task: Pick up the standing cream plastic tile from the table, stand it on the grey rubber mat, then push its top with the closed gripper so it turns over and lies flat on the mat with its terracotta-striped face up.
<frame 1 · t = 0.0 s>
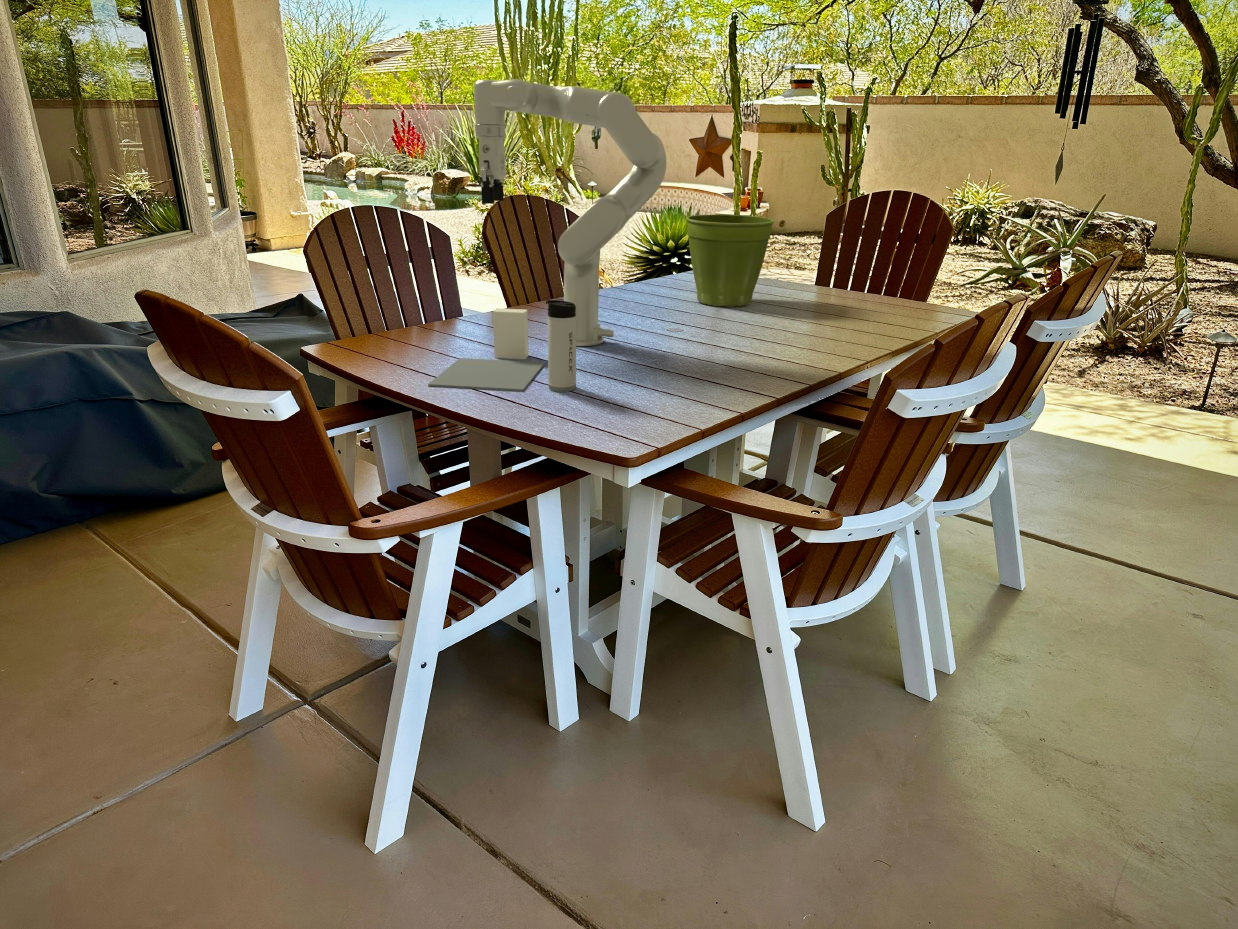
hand: (493, 201, 216), 37 cm above the table, tool pointing down, fingers open, 9 cm apart
travel mug: (561, 389, 185), on the table
plant pot: (724, 303, 286), on the table
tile: (511, 356, 210), on the table
mat: (489, 374, 194), on the table
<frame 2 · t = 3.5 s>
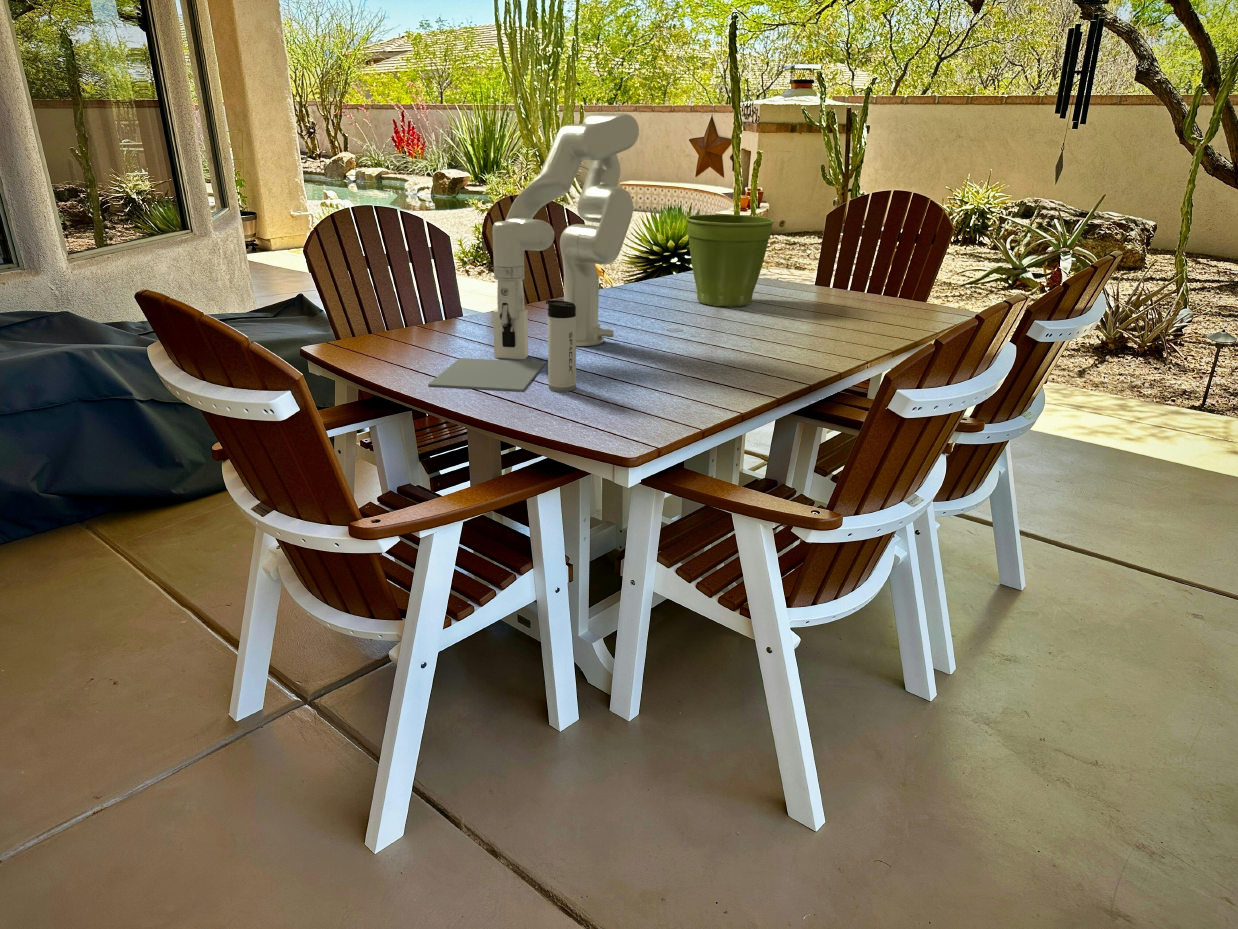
hand: (511, 343, 209), 3 cm above the table, tool pointing down, fingers closed on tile, 4 cm apart
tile: (511, 356, 210), on the table, touching gripper
everything else where it was.
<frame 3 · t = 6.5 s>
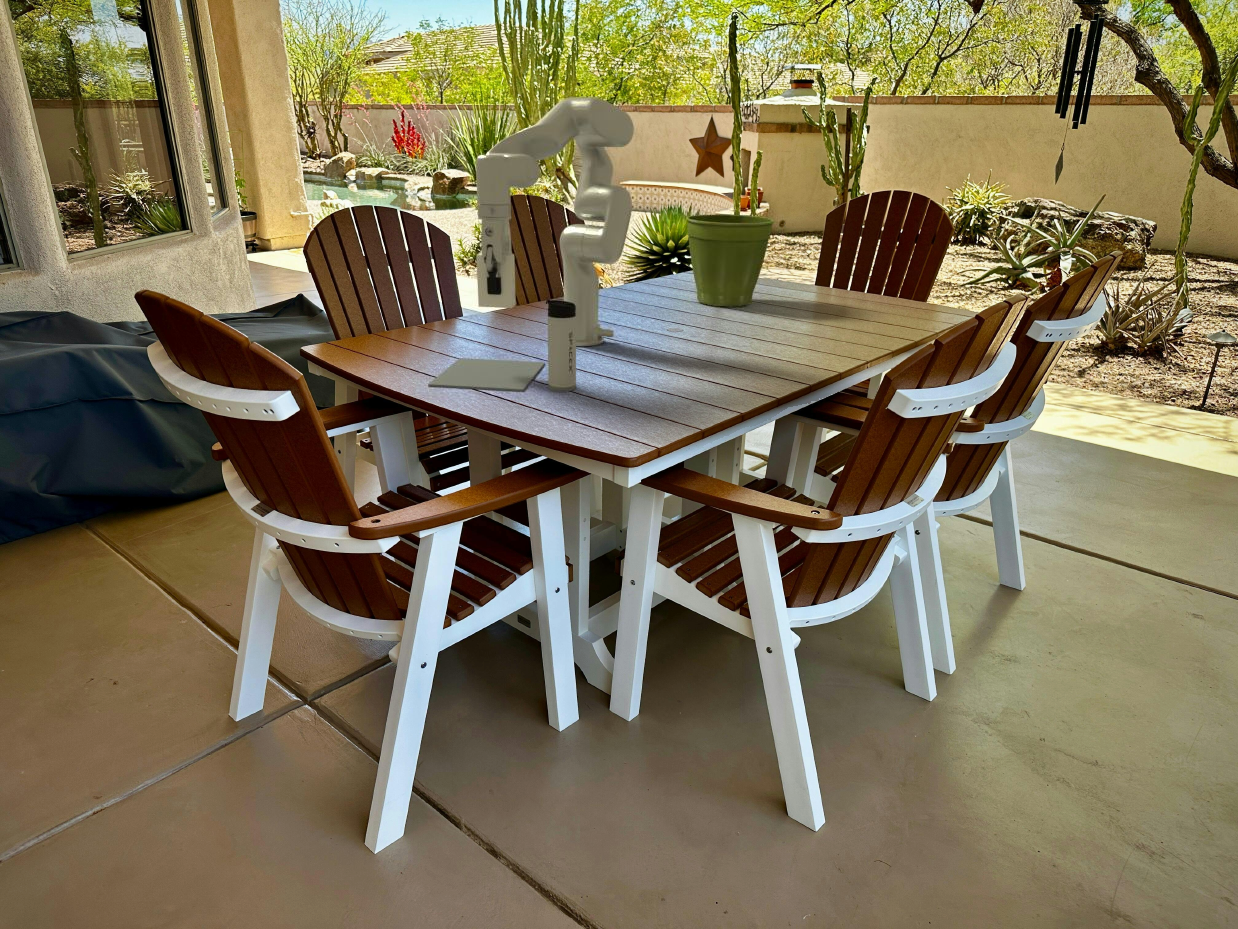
hand: (497, 291, 192), 19 cm above the table, tool pointing down, fingers closed on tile, 4 cm apart
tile: (497, 305, 193), point 15 cm above the table, touching gripper
everything else where it was.
when the fingers open (5 cm above the table, at t = 9.3 s): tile stays where it is, resting on mat.
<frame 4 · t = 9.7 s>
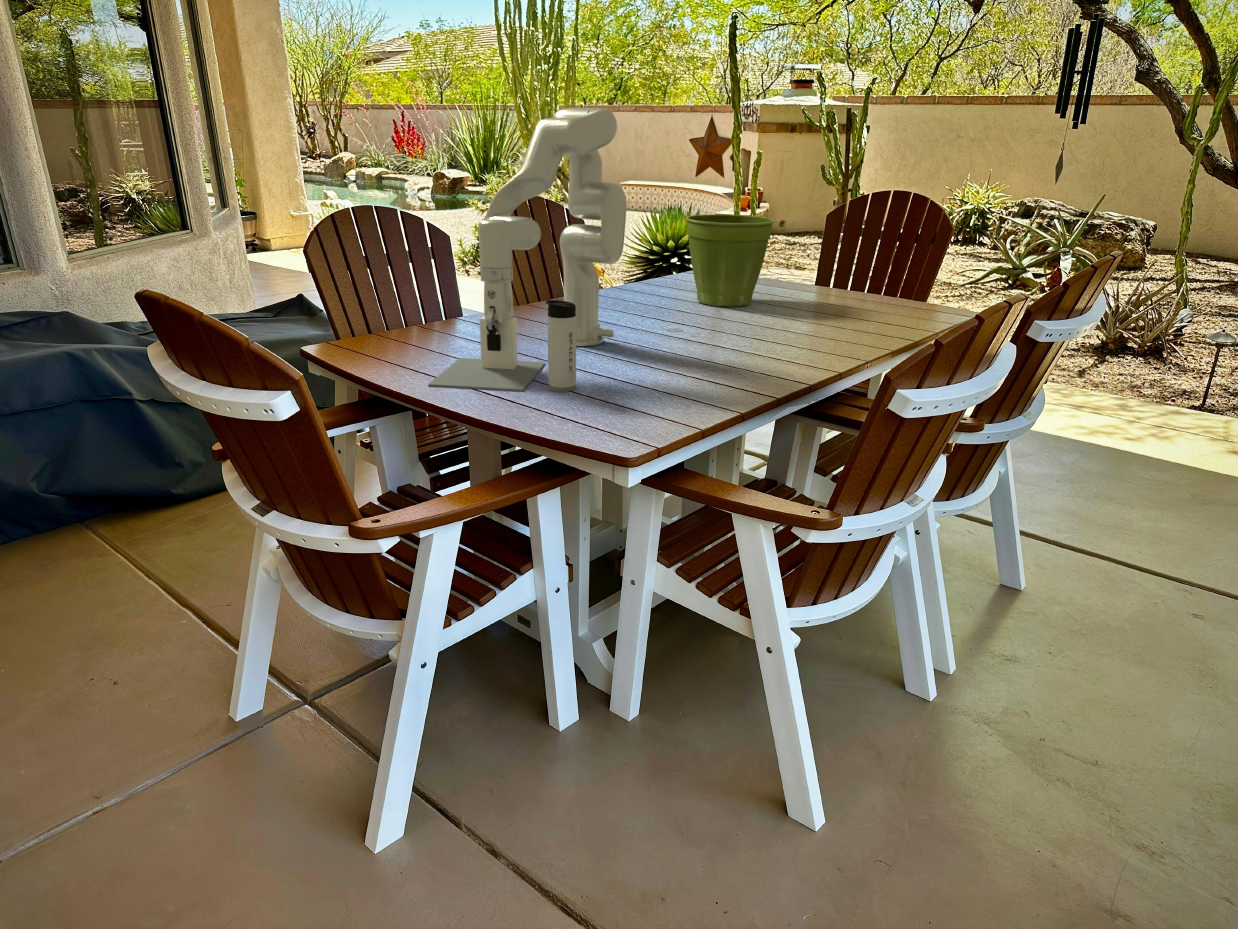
hand: (499, 345, 197), 6 cm above the table, tool pointing down, fingers open, 8 cm apart
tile: (499, 366, 199), resting on mat
everything else where it was.
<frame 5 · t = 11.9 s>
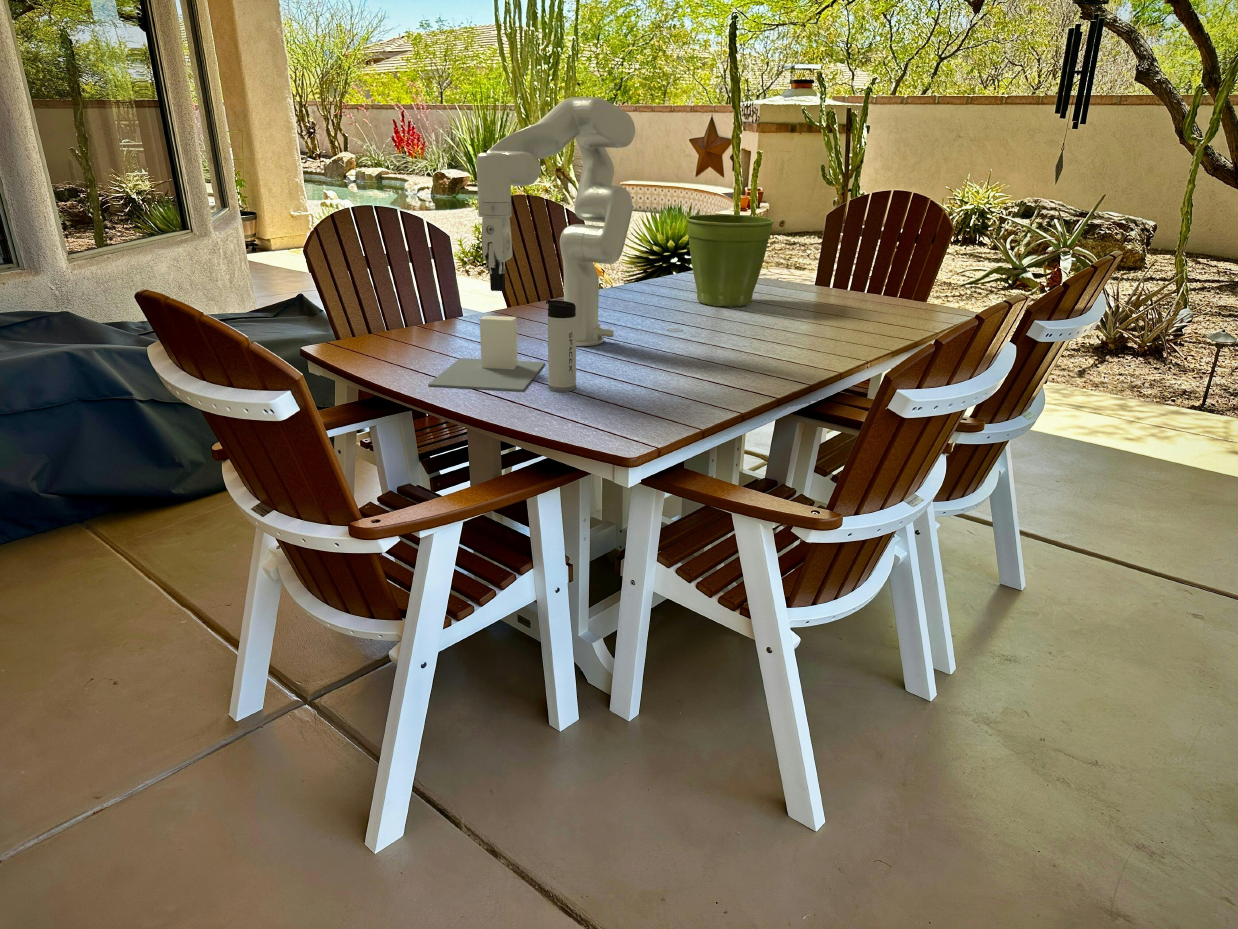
hand: (498, 290, 193), 19 cm above the table, tool pointing down, fingers closed
nothing on the table moved.
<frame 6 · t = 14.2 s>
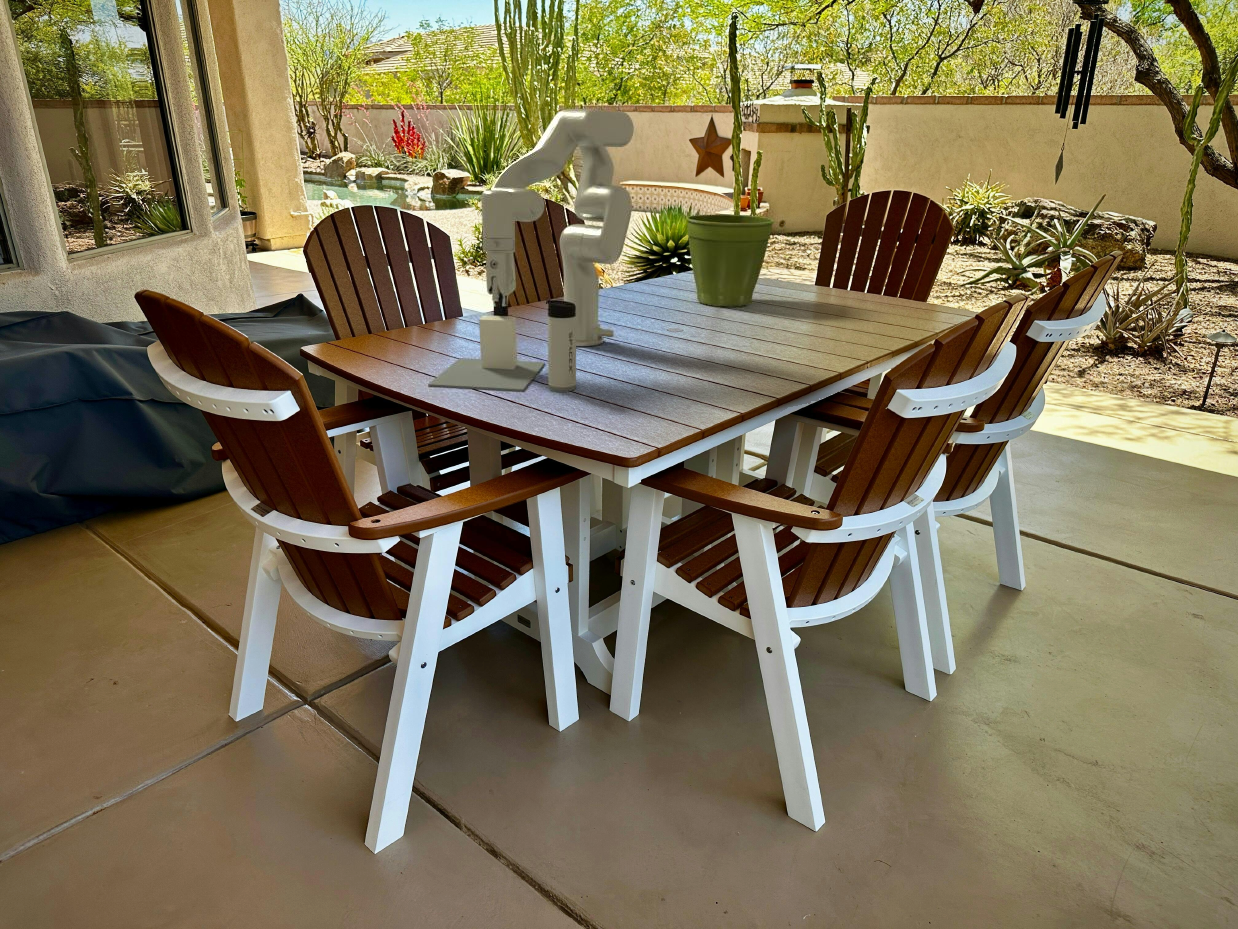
hand: (501, 321, 198), 11 cm above the table, tool pointing down, fingers closed
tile: (499, 366, 199), point 1 cm above the table, touching gripper, mat
everything else where it was.
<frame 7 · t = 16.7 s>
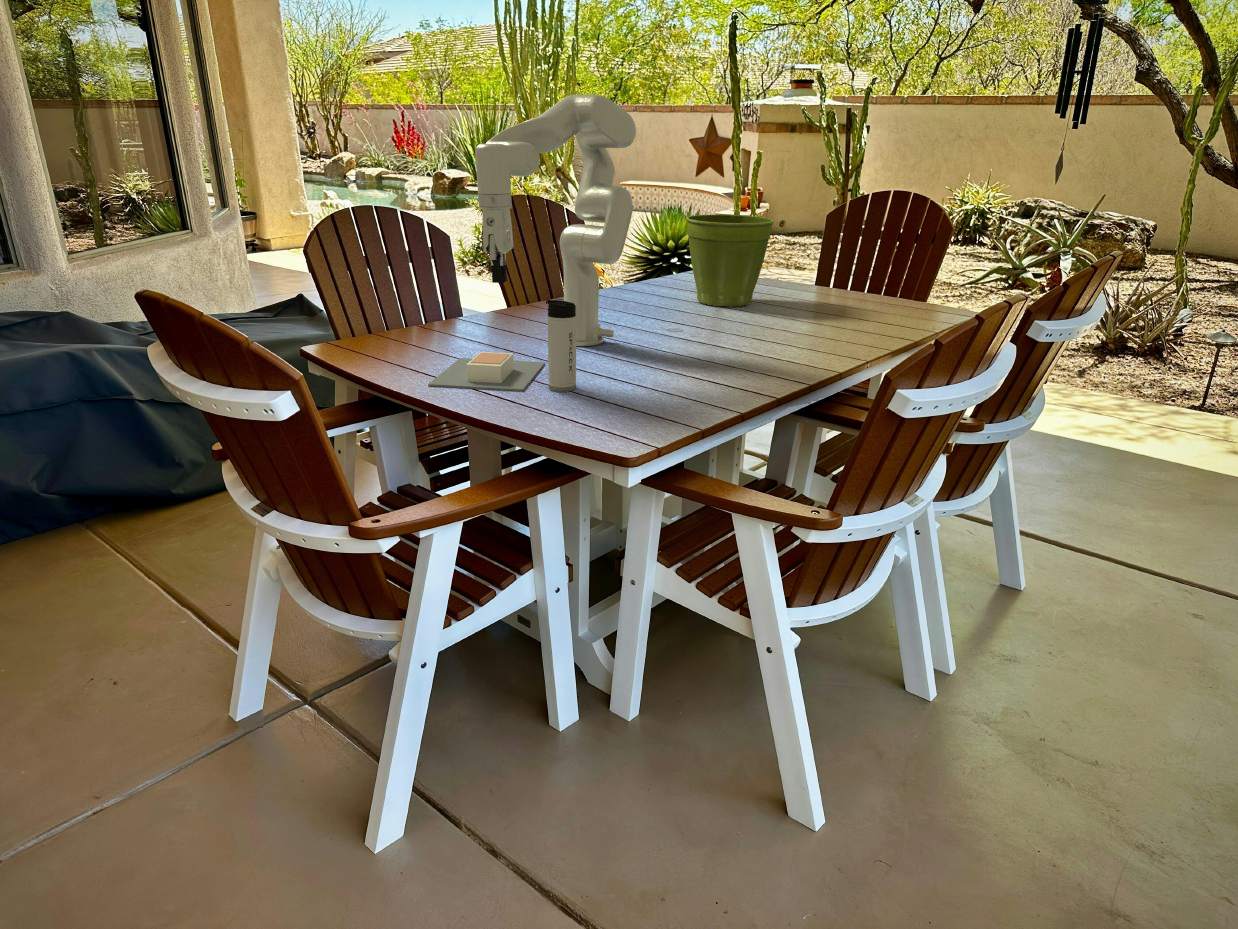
hand: (499, 281, 193), 21 cm above the table, tool pointing down, fingers closed
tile: (497, 360, 196), point 2 cm above the table, tilted 90°, touching mat
everything else where it was.
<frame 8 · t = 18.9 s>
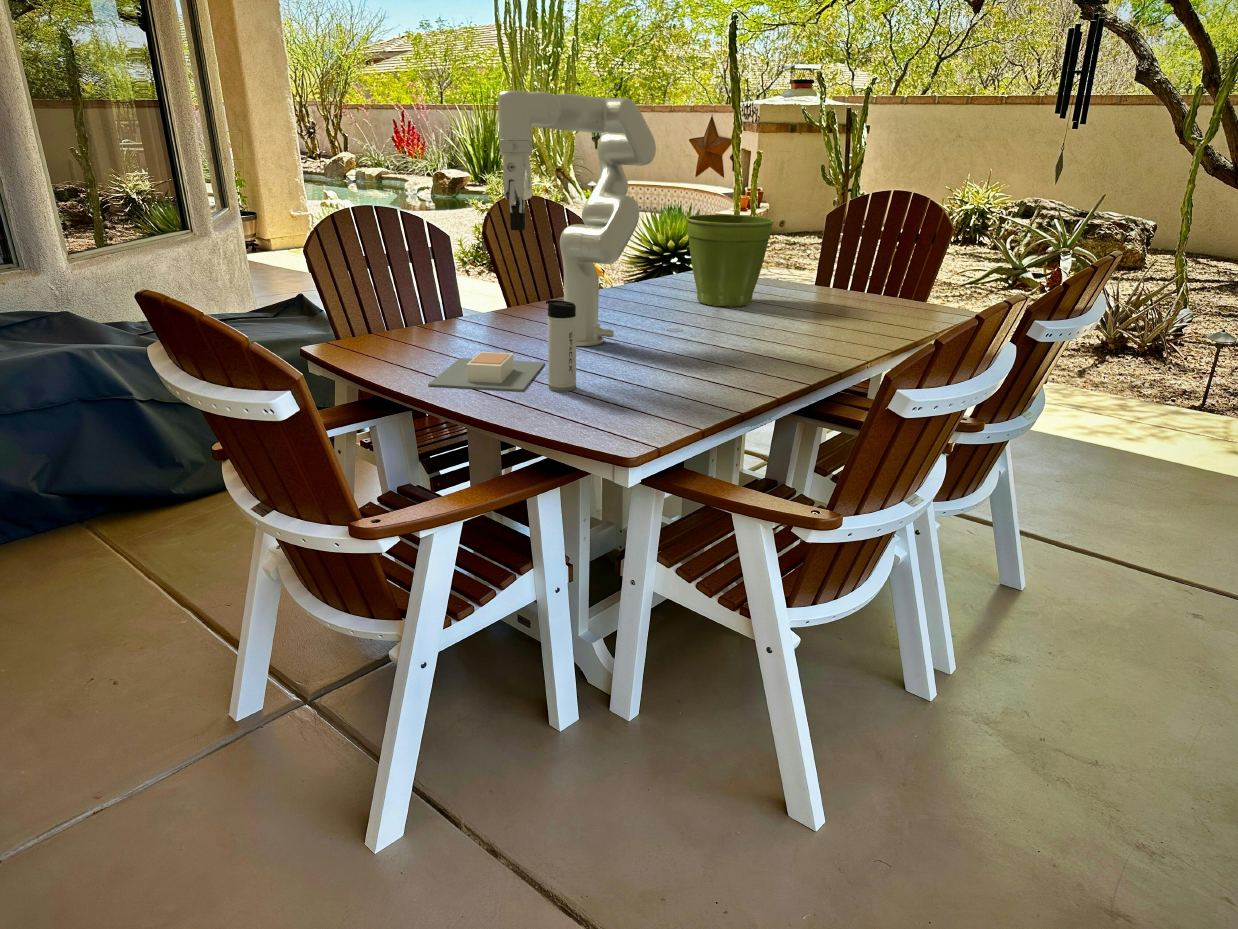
hand: (517, 229, 196), 32 cm above the table, tool pointing down, fingers closed
nothing on the table moved.
at the end: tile tilted 90°; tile inside the target area on the mat (4.0 cm from its centre), point 2.5 cm above the mat's base; the gripper is holding nothing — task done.
